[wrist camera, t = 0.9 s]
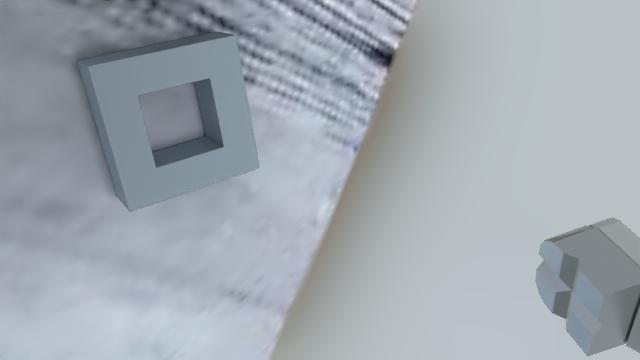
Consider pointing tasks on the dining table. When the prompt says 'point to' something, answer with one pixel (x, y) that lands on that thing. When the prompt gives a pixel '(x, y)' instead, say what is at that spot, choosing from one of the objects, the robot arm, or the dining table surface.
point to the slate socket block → (129, 128)
